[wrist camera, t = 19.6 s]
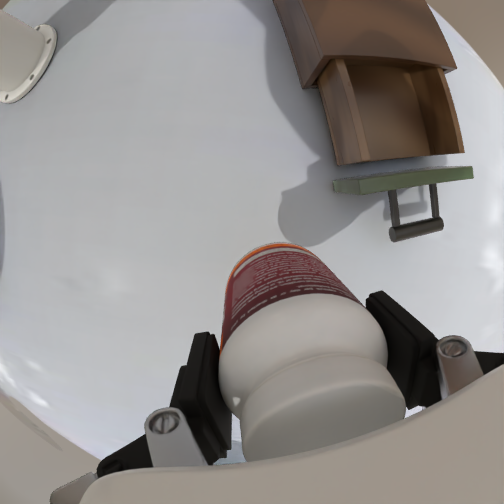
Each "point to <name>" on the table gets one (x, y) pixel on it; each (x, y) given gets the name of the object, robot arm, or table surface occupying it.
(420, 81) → the drawer
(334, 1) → the cabinet
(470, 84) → the table surface
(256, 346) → the pill bottle
